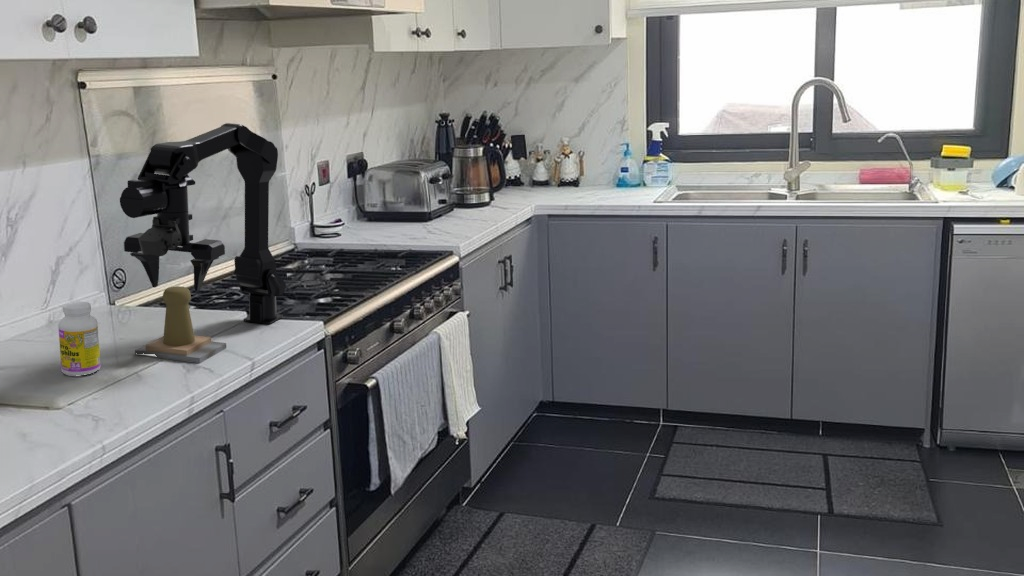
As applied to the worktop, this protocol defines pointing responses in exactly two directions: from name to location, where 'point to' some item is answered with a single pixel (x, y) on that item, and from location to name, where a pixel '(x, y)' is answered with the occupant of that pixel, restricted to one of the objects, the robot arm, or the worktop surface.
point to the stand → (183, 349)
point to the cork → (177, 317)
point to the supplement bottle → (78, 340)
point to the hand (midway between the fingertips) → (176, 289)
